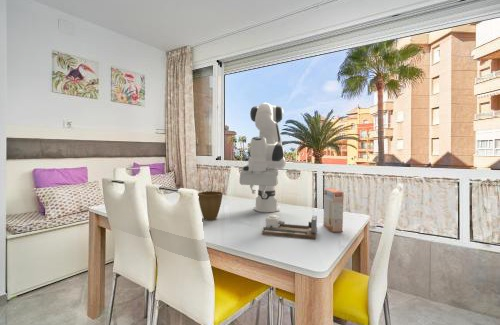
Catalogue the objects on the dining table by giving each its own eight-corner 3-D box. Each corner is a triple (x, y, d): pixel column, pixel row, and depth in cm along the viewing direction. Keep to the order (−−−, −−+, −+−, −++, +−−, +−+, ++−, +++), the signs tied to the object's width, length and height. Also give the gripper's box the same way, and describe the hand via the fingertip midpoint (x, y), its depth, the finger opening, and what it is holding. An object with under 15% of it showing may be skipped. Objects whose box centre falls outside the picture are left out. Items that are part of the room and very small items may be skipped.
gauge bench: (268, 226, 151) (268, 222, 151) (316, 230, 144) (316, 227, 144) (262, 234, 137) (262, 230, 137) (315, 239, 130) (315, 235, 130)
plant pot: (216, 223, 157) (216, 195, 156) (193, 220, 162) (193, 194, 161) (226, 217, 171) (226, 191, 170) (205, 215, 176) (205, 190, 175)
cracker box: (343, 232, 141) (344, 192, 140) (331, 232, 140) (332, 192, 139) (333, 224, 155) (334, 188, 153) (323, 224, 154) (323, 188, 153)
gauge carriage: (268, 224, 147) (269, 213, 147) (285, 225, 145) (285, 215, 144) (264, 229, 138) (264, 218, 137) (282, 231, 135) (282, 220, 135)
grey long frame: (267, 224, 149) (267, 211, 149) (316, 228, 142) (316, 215, 141) (263, 229, 139) (263, 216, 139) (315, 234, 132) (315, 220, 132)
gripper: (279, 167, 144) (278, 193, 144) (242, 166, 150) (242, 191, 150) (276, 168, 138) (276, 195, 138) (238, 167, 144) (238, 193, 144)
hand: (258, 193), depth 144 cm, fingers open, 4 cm apart
